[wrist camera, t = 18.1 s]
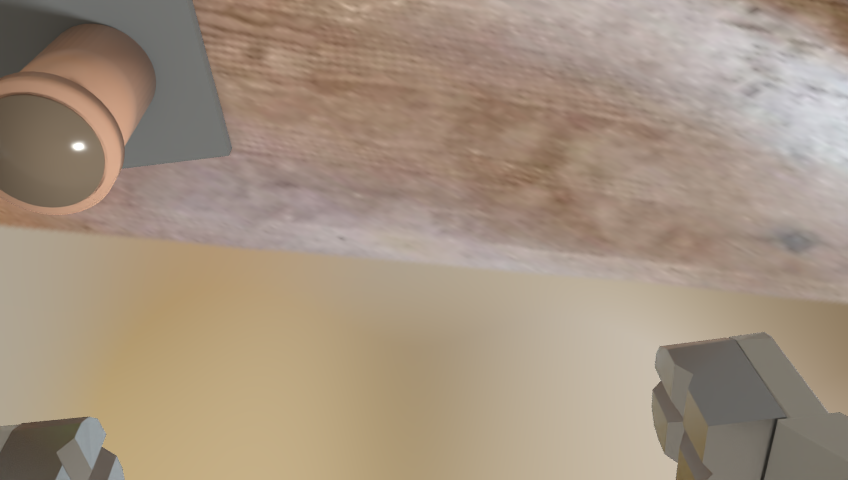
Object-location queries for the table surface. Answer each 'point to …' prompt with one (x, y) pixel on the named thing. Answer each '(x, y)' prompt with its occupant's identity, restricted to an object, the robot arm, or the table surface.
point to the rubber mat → (168, 52)
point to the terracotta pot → (71, 119)
